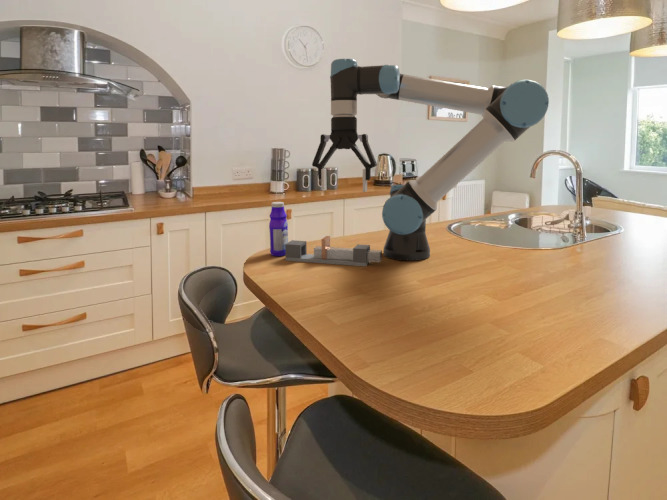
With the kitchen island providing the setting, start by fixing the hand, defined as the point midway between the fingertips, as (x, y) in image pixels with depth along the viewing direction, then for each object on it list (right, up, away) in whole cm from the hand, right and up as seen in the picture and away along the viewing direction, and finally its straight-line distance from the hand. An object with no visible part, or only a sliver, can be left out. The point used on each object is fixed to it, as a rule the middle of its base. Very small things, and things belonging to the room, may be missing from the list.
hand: (344, 190), depth 142 cm
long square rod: (+1, -21, +5) cm, 21 cm away
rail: (-5, -21, +7) cm, 23 cm away
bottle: (-21, -19, +16) cm, 33 cm away
